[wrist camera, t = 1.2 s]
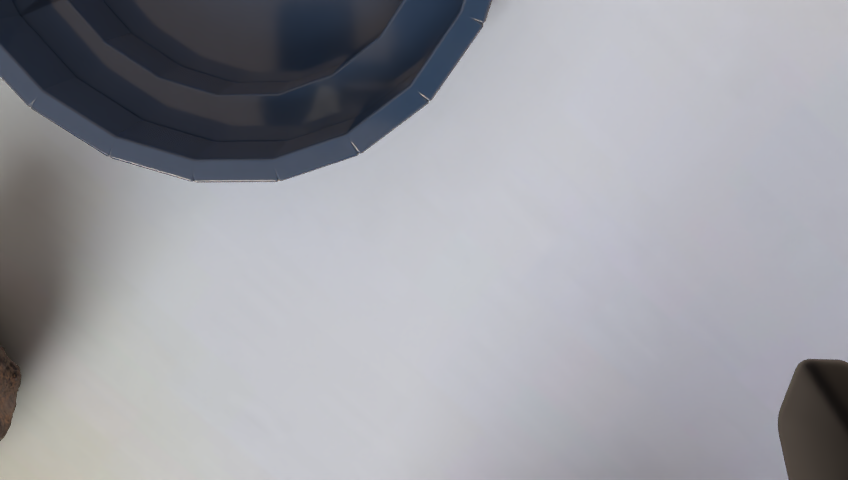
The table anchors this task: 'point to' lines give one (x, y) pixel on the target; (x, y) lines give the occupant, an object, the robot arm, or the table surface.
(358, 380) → the table surface
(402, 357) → the table surface
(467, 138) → the table surface
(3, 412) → the perforated stone tool
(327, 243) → the table surface
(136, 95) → the bowl
